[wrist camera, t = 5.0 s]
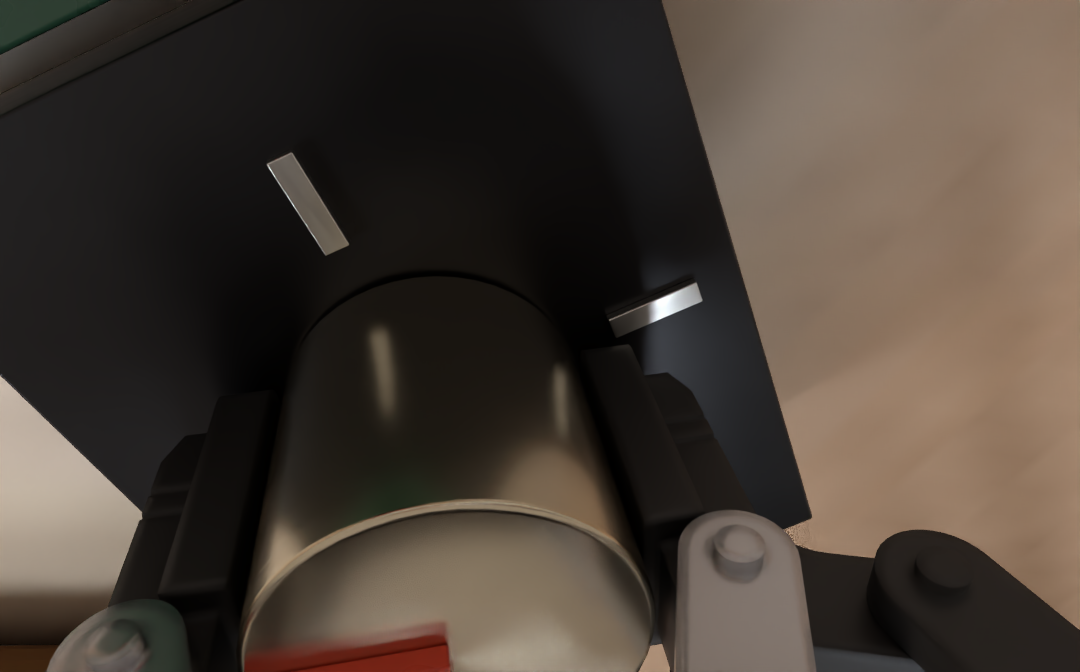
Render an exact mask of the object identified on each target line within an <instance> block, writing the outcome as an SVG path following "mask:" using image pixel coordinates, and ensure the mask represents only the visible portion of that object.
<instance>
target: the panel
mask: <svg viewBox="0 0 1080 672" xmlns="http://www.w3.org/2000/svg"><path fill="white" fill-rule="evenodd" d="M426 276H450V277H460V278H467V279H473V280H478V281H481V282H485V283H488V284H491V285H495V286H497V287H500V288H502V289H504V290H507V291H509V292H511V293H513V294H515V295H517V296H519V297H520V298H522V299H524V300H525V301H527V302H529V303H530V304H532V305H533V306H534V307H535V308H537V309H538V310H539V311H540V312H542V313H543V314H544V315H545V316H546V317H547V318H548V319H549V320H550V321H551V322H552V323H553V324H554V326H555V327H556V328H557V329H558V331H559V332H560V334H561V335H562V337H563V338H564V340H565V341H566V343H567V346H568V348H569V350H570V352H571V354H572V357H573V360H574V362H575V365H576V368H577V371H578V374H579V377H580V353H581V350H588V349H596V348H603V347H611V346H619V345H627V344H629V345H630V346H631V348H632V350H633V352H634V354H635V356H636V359H637V361H638V363H639V365H640V367H641V370H642V372H643V374H644V375H650V374H658V373H665V372H668V373H669V374H671V375H672V376H673V377H675V378H676V379H677V380H678V381H680V382H681V383H682V384H684V385H685V386H686V387H687V388H689V389H690V390H691V391H692V392H693V394H694V396H695V398H696V400H697V402H698V404H699V406H700V408H701V410H702V411H703V413H704V418H705V419H707V421H708V423H709V425H710V427H711V429H712V431H713V432H714V437H715V439H717V440H718V442H719V444H720V446H721V448H722V450H723V452H724V454H725V455H726V457H727V459H728V461H729V463H730V465H731V467H732V469H733V471H734V473H735V475H736V477H737V478H738V480H739V482H740V484H741V486H742V488H743V490H744V492H745V494H746V496H747V498H748V499H749V501H750V503H751V505H752V507H753V509H754V511H755V512H756V514H757V515H759V516H762V517H764V518H766V519H768V520H770V521H772V522H774V523H775V524H776V525H778V526H779V527H781V528H782V529H786V528H788V527H791V526H794V525H796V524H799V523H801V522H804V521H806V520H809V519H811V518H812V514H811V510H810V507H809V504H808V500H807V497H806V493H805V490H804V487H803V483H802V480H801V476H800V473H799V469H798V466H797V463H796V459H795V456H794V452H793V449H792V445H791V442H790V439H789V435H788V432H787V428H786V425H785V421H784V418H783V415H782V411H781V408H780V404H779V401H778V397H777V394H776V391H775V387H774V384H773V380H772V377H771V373H770V370H769V367H768V363H767V360H766V356H765V353H764V349H763V346H762V343H761V339H760V336H759V332H758V329H757V325H756V322H755V319H754V315H753V312H752V308H751V305H750V301H749V298H748V295H747V291H746V288H745V284H744V281H743V277H742V274H741V271H740V267H739V264H738V260H737V257H736V253H735V250H734V247H733V243H732V240H731V236H730V233H729V229H728V226H727V223H726V219H725V216H724V212H723V209H722V205H721V202H720V199H719V195H718V192H717V188H716V185H715V181H714V178H713V175H712V171H711V168H710V164H709V161H708V157H707V154H706V151H705V147H704V144H703V140H702V137H701V133H700V130H699V127H698V123H697V120H696V116H695V113H694V109H693V106H692V103H691V99H690V96H689V92H688V89H687V85H686V82H685V79H684V75H683V72H682V68H681V65H680V62H679V58H678V55H677V51H676V48H675V44H674V41H673V38H672V34H671V31H670V27H669V24H668V20H667V17H666V14H665V10H664V7H663V3H662V0H192V1H190V2H188V3H186V4H184V5H182V6H180V7H178V8H176V9H174V10H172V11H170V12H168V13H166V14H164V15H162V16H160V17H158V18H156V19H154V20H151V21H149V22H147V23H145V24H143V25H141V26H139V27H137V28H135V29H133V30H131V31H129V32H127V33H125V34H123V35H121V36H119V37H117V38H115V39H113V40H110V41H108V42H106V43H104V44H102V45H100V46H98V47H96V48H94V49H92V50H90V51H88V52H86V53H84V54H82V55H80V56H78V57H76V58H74V59H72V60H70V61H67V62H65V63H63V64H61V65H59V66H57V67H55V68H53V69H51V70H49V71H47V72H45V73H43V74H41V75H39V76H37V77H35V78H33V79H31V80H29V81H26V82H24V83H22V84H20V85H18V86H16V87H14V88H12V89H10V90H8V91H6V92H4V93H2V94H0V376H1V377H2V378H3V379H5V380H6V381H7V382H8V383H9V384H10V385H11V386H12V387H13V388H14V389H15V390H16V391H17V392H18V393H19V394H20V395H21V396H22V397H23V398H24V399H25V400H26V401H27V402H28V403H29V404H31V405H32V406H33V407H34V408H35V409H36V410H37V411H38V412H39V413H40V414H41V415H42V416H43V417H44V418H45V419H46V420H47V421H48V422H49V423H50V424H51V425H52V426H53V427H54V428H55V429H56V430H58V431H59V432H60V433H61V434H62V435H63V436H64V437H65V438H66V439H67V440H68V441H69V442H70V443H71V444H72V445H73V446H74V447H75V448H76V449H77V450H78V451H79V452H80V453H81V454H82V455H84V456H85V457H86V458H87V459H88V460H89V461H90V462H91V463H92V464H93V465H94V466H95V467H96V468H97V469H98V470H99V471H100V472H101V473H102V474H103V475H104V476H105V477H106V478H107V479H108V480H109V481H111V482H112V483H113V484H114V485H115V486H116V487H117V488H118V489H119V490H120V491H121V492H122V493H123V494H124V495H125V496H126V497H127V498H128V499H129V500H130V501H131V502H132V503H133V504H134V505H135V506H137V507H138V508H139V509H140V510H141V511H142V512H143V510H144V507H145V504H146V502H147V499H148V496H151V488H152V485H153V483H154V480H155V477H156V474H157V472H158V469H159V466H160V464H161V462H162V461H163V460H164V458H165V457H166V456H167V455H168V454H169V453H170V452H171V451H172V450H173V449H174V447H175V446H176V445H177V444H178V443H179V442H180V441H181V440H182V439H183V438H184V436H187V435H195V434H202V433H207V431H208V428H209V425H210V421H211V418H212V415H213V412H214V409H215V405H216V402H217V400H218V398H219V397H220V396H226V395H234V394H241V393H249V392H257V391H265V390H274V391H275V392H276V394H277V396H278V398H279V401H280V404H282V399H283V394H284V388H285V383H286V378H287V375H288V372H289V368H290V365H291V362H292V360H293V358H294V356H295V354H296V352H297V350H298V348H299V346H300V345H301V344H302V342H303V341H304V339H305V338H306V336H307V335H308V334H309V332H310V331H311V330H312V329H313V328H314V327H315V326H316V325H317V324H318V323H319V322H320V321H321V320H322V319H323V318H324V317H325V316H326V315H328V314H329V313H330V312H331V311H333V310H334V309H335V308H336V307H338V306H339V305H341V304H343V303H344V302H346V301H348V300H349V299H351V298H353V297H354V296H356V295H358V294H360V293H363V292H365V291H367V290H369V289H372V288H374V287H377V286H380V285H383V284H386V283H390V282H393V281H397V280H403V279H408V278H414V277H426Z"/></svg>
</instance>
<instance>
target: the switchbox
mask: <svg viewBox="0 0 1080 672" xmlns="http://www.w3.org/2000/svg"><path fill="white" fill-rule="evenodd" d="M108 1H110V0H0V55H1V54H3V53H5V52H7V51H9V50H11V49H13V48H15V47H17V46H19V45H21V44H23V43H25V42H27V41H29V40H31V39H33V38H35V37H37V36H39V35H41V34H43V33H45V32H47V31H49V30H51V29H53V28H55V27H57V26H59V25H62V24H64V23H66V22H68V21H70V20H72V19H74V18H76V17H78V16H80V15H82V14H84V13H86V12H88V11H90V10H92V9H94V8H96V7H98V6H100V5H102V4H104V3H106V2H108Z"/></svg>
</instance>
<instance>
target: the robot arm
mask: <svg viewBox="0 0 1080 672" xmlns="http://www.w3.org/2000/svg"><path fill="white" fill-rule="evenodd" d="M580 380H581V383H582V386H583V389H584V392H585V394H586V397H587V400H588V403H589V406H590V409H591V412H592V415H593V418H594V421H595V424H596V427H597V429H598V432H599V435H600V438H601V441H602V444H603V447H604V450H605V453H606V456H607V459H608V462H609V464H610V467H611V470H612V473H613V476H614V479H615V482H616V485H617V488H618V491H619V494H620V496H621V499H622V502H623V505H624V508H625V511H626V514H627V517H628V520H629V523H630V526H631V529H632V531H633V534H634V537H635V540H636V543H637V546H638V549H639V552H640V555H641V558H642V561H643V564H644V566H645V569H646V572H647V575H648V578H649V581H650V584H651V588H652V591H653V595H654V599H655V613H656V617H655V625H654V632H653V638H652V642H651V645H657V644H663V647H664V651H665V654H666V657H667V660H668V663H669V666H670V672H1080V630H1079V629H1077V628H1076V627H1075V626H1074V625H1073V624H1071V623H1070V622H1069V621H1068V620H1066V619H1065V618H1064V617H1063V616H1061V615H1060V614H1059V613H1058V612H1057V611H1055V610H1054V609H1053V608H1052V607H1050V606H1049V605H1048V604H1047V603H1045V602H1044V601H1043V600H1042V599H1041V598H1039V597H1038V596H1037V595H1036V594H1034V593H1033V592H1032V591H1031V590H1029V589H1028V588H1027V587H1026V586H1025V585H1023V584H1022V583H1021V582H1020V581H1018V580H1017V579H1016V578H1015V577H1013V576H1012V575H1011V574H1010V573H1009V572H1007V571H1006V570H1005V569H1004V568H1002V567H1001V566H1000V565H999V564H997V563H996V562H995V561H994V560H993V559H991V558H990V557H989V556H988V555H986V554H985V553H984V552H982V551H981V550H980V549H978V548H977V547H975V546H973V545H971V544H970V543H968V542H966V541H964V540H962V539H959V538H957V537H955V536H952V535H948V534H945V533H941V532H936V531H930V530H909V531H903V532H900V533H897V534H894V535H892V536H891V537H889V538H887V539H886V540H885V541H884V542H883V543H882V544H881V545H880V546H879V548H878V550H877V552H876V556H875V558H867V557H858V556H849V555H840V554H831V553H824V552H818V551H813V550H810V549H806V548H803V547H800V546H798V545H795V543H794V542H793V540H792V539H791V538H790V536H789V535H788V534H787V533H786V532H785V531H784V530H783V529H782V528H781V527H779V526H778V525H776V524H775V523H774V522H772V521H770V520H768V519H766V518H764V517H762V516H759V515H757V514H756V512H755V511H754V509H753V507H752V505H751V503H750V501H749V499H748V498H747V496H746V494H745V492H744V490H743V488H742V486H741V484H740V482H739V480H738V478H737V477H736V475H735V473H734V471H733V469H732V467H731V465H730V463H729V461H728V459H727V457H726V455H725V454H724V452H723V450H722V448H721V446H720V444H719V442H718V440H717V439H715V437H714V432H713V431H712V429H711V427H710V425H709V423H708V421H707V419H705V418H704V413H703V411H702V410H701V408H700V406H699V404H698V402H697V400H696V398H695V396H694V394H693V392H692V391H691V390H690V389H689V388H687V387H686V386H685V385H684V384H682V383H681V382H680V381H678V380H677V379H676V378H675V377H673V376H672V375H671V374H669V373H668V372H665V373H658V374H650V375H644V374H643V372H642V370H641V367H640V365H639V363H638V361H637V359H636V356H635V354H634V352H633V350H632V348H631V346H630V345H629V344H627V345H619V346H611V347H603V348H596V349H588V350H581V353H580ZM280 410H281V404H280V401H279V398H278V396H277V394H276V392H275V391H274V390H265V391H257V392H249V393H241V394H234V395H226V396H220V397H219V398H218V400H217V402H216V405H215V409H214V412H213V415H212V418H211V421H210V425H209V428H208V431H207V433H202V434H195V435H187V436H184V438H183V439H182V440H181V441H180V442H179V443H178V444H177V445H176V446H175V447H174V449H173V450H172V451H171V452H170V453H169V454H168V455H167V456H166V457H165V458H164V460H163V461H162V462H161V464H160V466H159V469H158V472H157V474H156V477H155V480H154V483H153V485H152V488H151V496H148V499H147V502H146V504H145V507H144V510H143V512H142V517H143V518H142V520H140V521H139V523H138V526H137V529H136V531H135V534H134V537H133V540H132V542H131V545H130V548H129V551H128V553H127V556H126V559H125V561H124V564H123V567H122V570H121V572H120V575H119V578H118V580H117V583H116V586H115V589H114V591H113V594H112V597H111V599H110V602H109V605H108V608H106V609H104V610H102V611H100V612H98V613H96V614H95V615H93V616H91V617H90V618H88V619H87V620H85V621H84V622H82V623H81V624H80V625H79V626H78V627H76V628H75V629H74V630H73V631H72V632H71V633H70V634H69V635H68V636H67V637H66V638H65V639H64V640H63V641H62V643H61V644H60V645H59V647H58V648H57V649H56V651H55V653H54V655H53V656H52V658H51V660H50V663H49V666H48V668H47V670H46V671H45V672H238V669H237V659H236V647H237V638H238V631H239V626H240V621H241V616H242V610H243V605H244V600H245V594H246V589H247V584H248V579H249V573H250V568H251V563H252V557H253V552H254V547H255V542H256V536H257V531H258V526H259V521H260V515H261V510H262V505H263V499H264V494H265V489H266V484H267V478H268V473H269V468H270V462H271V457H272V452H273V447H274V441H275V436H276V431H277V425H278V420H279V415H280ZM651 645H650V646H651Z"/></svg>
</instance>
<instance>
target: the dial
mask: <svg viewBox="0 0 1080 672" xmlns="http://www.w3.org/2000/svg"><path fill="white" fill-rule="evenodd" d="M655 617H656V613H655V599H654V595H653V591H652V588H651V584H650V581H649V578H648V575H647V572H646V569H645V566H644V564H643V561H642V558H641V555H640V552H639V549H638V546H637V543H636V540H635V537H634V534H633V531H632V529H631V526H630V523H629V520H628V517H627V514H626V511H625V508H624V505H623V502H622V499H621V496H620V494H619V491H618V488H617V485H616V482H615V479H614V476H613V473H612V470H611V467H610V464H609V462H608V459H607V456H606V453H605V450H604V447H603V444H602V441H601V438H600V435H599V432H598V429H597V427H596V424H595V421H594V418H593V415H592V412H591V409H590V406H589V403H588V400H587V397H586V394H585V392H584V389H583V386H582V383H581V380H580V377H579V374H578V371H577V368H576V365H575V362H574V360H573V357H572V354H571V352H570V350H569V348H568V346H567V343H566V341H565V340H564V338H563V337H562V335H561V334H560V332H559V331H558V329H557V328H556V327H555V326H554V324H553V323H552V322H551V321H550V320H549V319H548V318H547V317H546V316H545V315H544V314H543V313H542V312H540V311H539V310H538V309H537V308H535V307H534V306H533V305H532V304H530V303H529V302H527V301H525V300H524V299H522V298H520V297H519V296H517V295H515V294H513V293H511V292H509V291H507V290H504V289H502V288H500V287H497V286H495V285H491V284H488V283H485V282H481V281H478V280H473V279H467V278H460V277H450V276H426V277H414V278H408V279H403V280H397V281H393V282H390V283H386V284H383V285H380V286H377V287H374V288H372V289H369V290H367V291H365V292H363V293H360V294H358V295H356V296H354V297H353V298H351V299H349V300H348V301H346V302H344V303H343V304H341V305H339V306H338V307H336V308H335V309H334V310H333V311H331V312H330V313H329V314H328V315H326V316H325V317H324V318H323V319H322V320H321V321H320V322H319V323H318V324H317V325H316V326H315V327H314V328H313V329H312V330H311V331H310V332H309V334H308V335H307V336H306V338H305V339H304V341H303V342H302V344H301V345H300V346H299V348H298V350H297V352H296V354H295V356H294V358H293V360H292V362H291V365H290V368H289V372H288V375H287V378H286V383H285V388H284V394H283V399H282V404H281V410H280V415H279V420H278V425H277V431H276V436H275V441H274V447H273V452H272V457H271V462H270V468H269V473H268V478H267V484H266V489H265V494H264V499H263V505H262V510H261V515H260V521H259V526H258V531H257V536H256V542H255V547H254V552H253V557H252V563H251V568H250V573H249V579H248V584H247V589H246V594H245V600H244V605H243V610H242V616H241V621H240V626H239V631H238V638H237V647H236V659H237V669H238V672H638V671H639V670H640V668H641V666H642V664H643V662H644V660H645V658H646V656H647V654H648V651H649V648H650V645H651V642H652V638H653V632H654V625H655Z"/></svg>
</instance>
